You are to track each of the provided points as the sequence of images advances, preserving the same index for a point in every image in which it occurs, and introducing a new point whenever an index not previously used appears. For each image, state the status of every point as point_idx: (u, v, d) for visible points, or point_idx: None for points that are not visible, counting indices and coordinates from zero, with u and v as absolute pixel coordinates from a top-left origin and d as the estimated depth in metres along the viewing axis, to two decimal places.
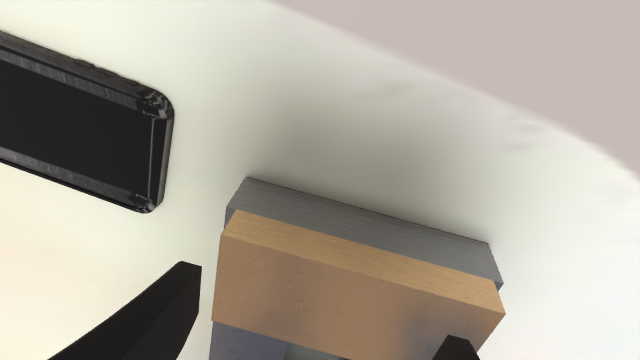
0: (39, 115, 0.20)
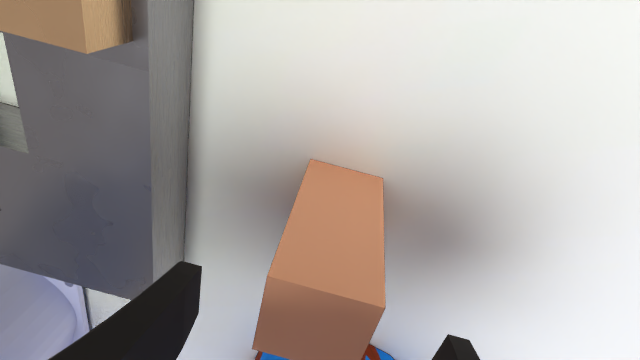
0: None
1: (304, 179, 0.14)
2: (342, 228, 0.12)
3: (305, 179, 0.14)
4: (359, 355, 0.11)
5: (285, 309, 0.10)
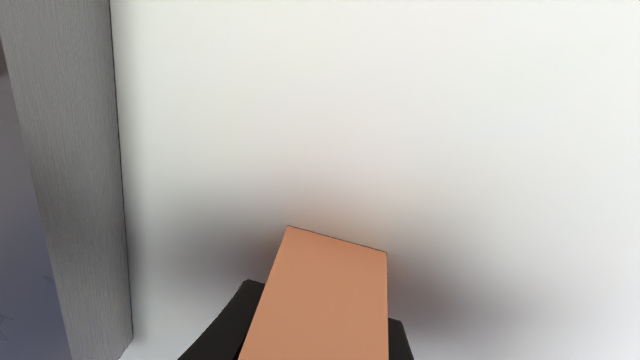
0: None
1: (275, 265, 0.10)
2: None
3: (276, 265, 0.10)
4: None
5: None
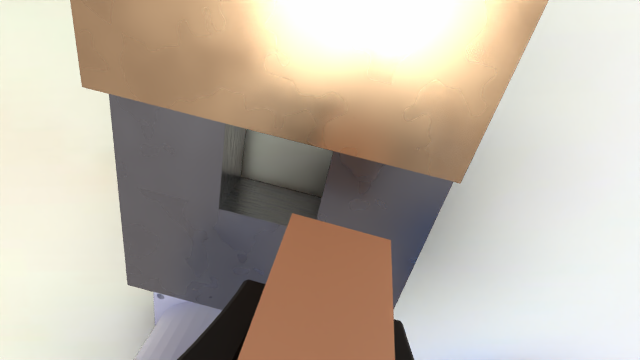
0: None
1: (280, 250, 0.10)
2: (331, 344, 0.08)
3: (281, 250, 0.10)
4: None
5: None
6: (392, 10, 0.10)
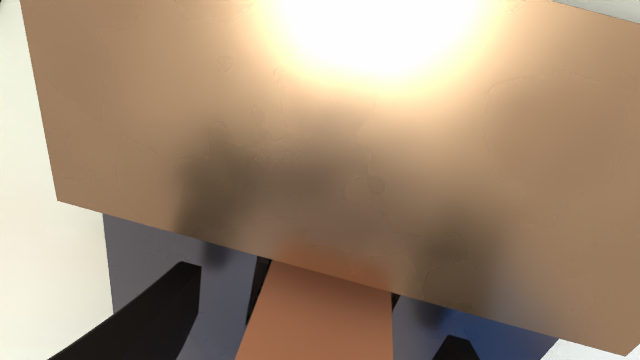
0: None
1: None
2: (337, 282, 0.09)
3: None
4: None
5: None
6: (579, 128, 0.06)
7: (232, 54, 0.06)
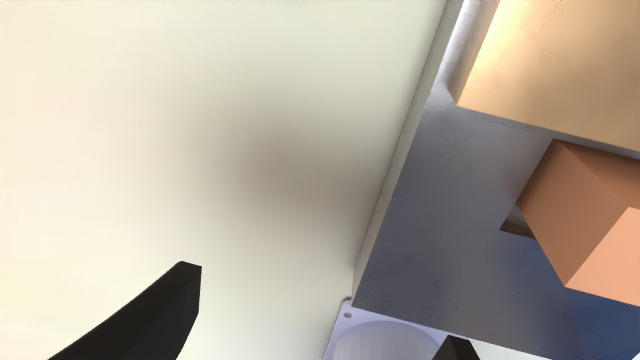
0: None
1: None
2: (631, 174, 0.12)
3: None
4: None
5: (628, 241, 0.11)
6: None
7: None
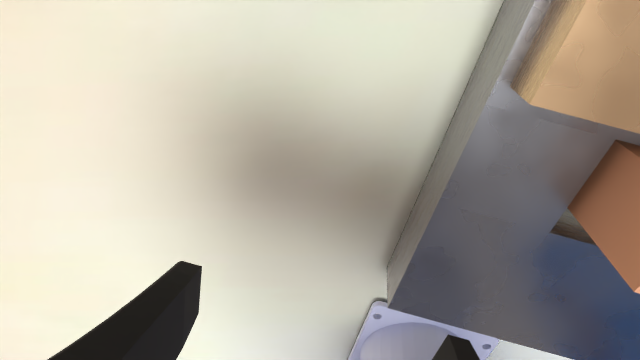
0: None
1: None
2: None
3: None
4: None
5: None
6: None
7: None
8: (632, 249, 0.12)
